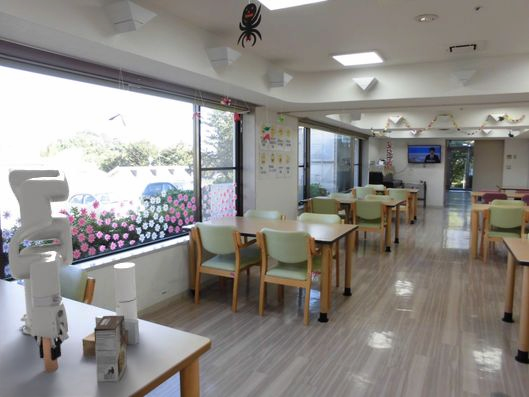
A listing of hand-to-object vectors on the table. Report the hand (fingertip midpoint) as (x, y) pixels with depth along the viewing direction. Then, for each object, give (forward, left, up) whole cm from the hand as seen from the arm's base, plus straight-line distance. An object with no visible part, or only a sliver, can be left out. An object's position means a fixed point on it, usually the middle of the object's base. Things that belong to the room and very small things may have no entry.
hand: (50, 356), depth 120 cm
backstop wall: (+8, +21, -4) cm, 23 cm away
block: (+8, +15, -4) cm, 17 cm away
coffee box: (+20, +3, -4) cm, 20 cm away
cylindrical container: (+7, +28, -4) cm, 29 cm away
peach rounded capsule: (0, 0, -4) cm, 4 cm away
